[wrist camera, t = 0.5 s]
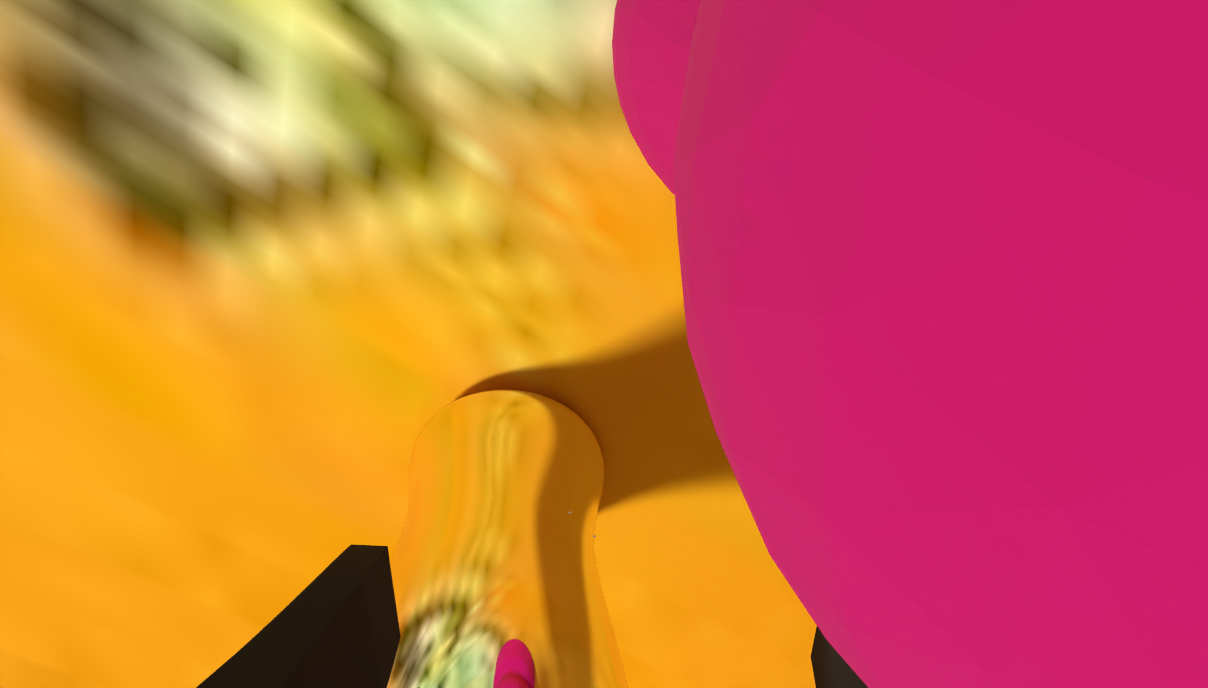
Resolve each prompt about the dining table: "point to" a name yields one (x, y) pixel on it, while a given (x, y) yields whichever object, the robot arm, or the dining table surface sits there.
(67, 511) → the dining table surface
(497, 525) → the pale grey carved column
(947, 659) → the pepper mill
